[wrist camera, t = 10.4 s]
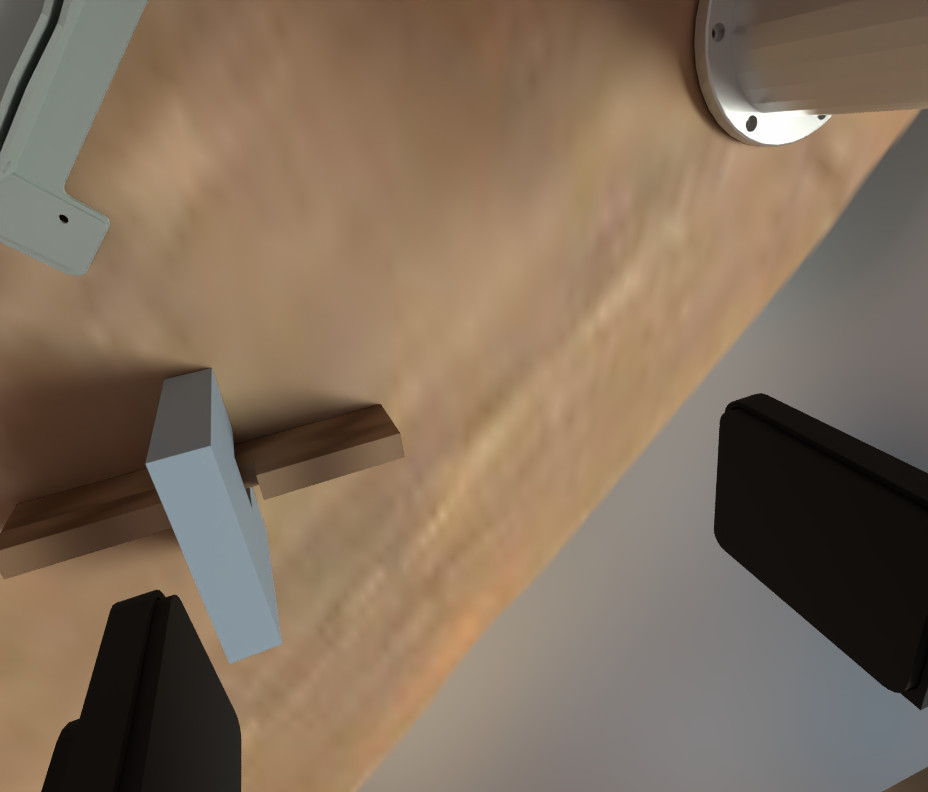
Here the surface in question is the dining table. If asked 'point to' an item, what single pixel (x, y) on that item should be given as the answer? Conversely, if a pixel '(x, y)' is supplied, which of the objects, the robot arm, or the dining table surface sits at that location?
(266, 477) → the walnut board
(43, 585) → the dining table surface
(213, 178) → the dining table surface
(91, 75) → the metal bracket
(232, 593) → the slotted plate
